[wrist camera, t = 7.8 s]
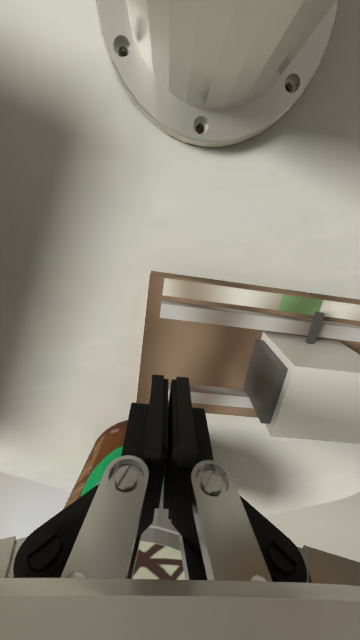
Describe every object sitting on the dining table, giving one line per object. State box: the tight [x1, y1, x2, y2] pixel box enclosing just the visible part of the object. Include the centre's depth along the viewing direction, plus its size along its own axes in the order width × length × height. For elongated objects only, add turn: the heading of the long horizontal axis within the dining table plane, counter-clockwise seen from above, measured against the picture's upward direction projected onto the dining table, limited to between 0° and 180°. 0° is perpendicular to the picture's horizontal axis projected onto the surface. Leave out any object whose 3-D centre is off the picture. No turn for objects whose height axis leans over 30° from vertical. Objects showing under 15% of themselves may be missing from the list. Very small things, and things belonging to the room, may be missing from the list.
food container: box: [64, 420, 185, 580], centre depth 19 cm, size 12×6×10 cm, turn 60°
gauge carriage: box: [244, 311, 360, 443], centre depth 17 cm, size 7×7×5 cm
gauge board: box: [136, 271, 360, 417], centre depth 19 cm, size 24×11×6 cm, turn 82°
